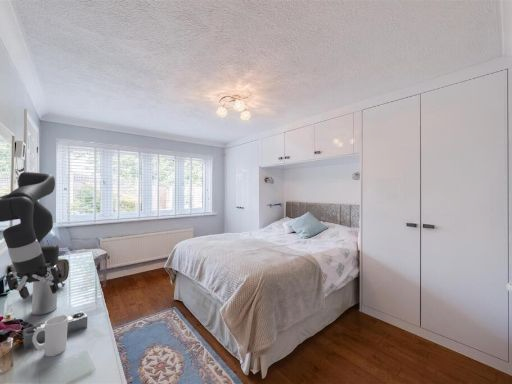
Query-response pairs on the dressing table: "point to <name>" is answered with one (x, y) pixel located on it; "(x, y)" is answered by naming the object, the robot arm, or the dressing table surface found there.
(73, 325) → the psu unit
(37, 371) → the dressing table surface
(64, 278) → the tabletop clock
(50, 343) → the mug
